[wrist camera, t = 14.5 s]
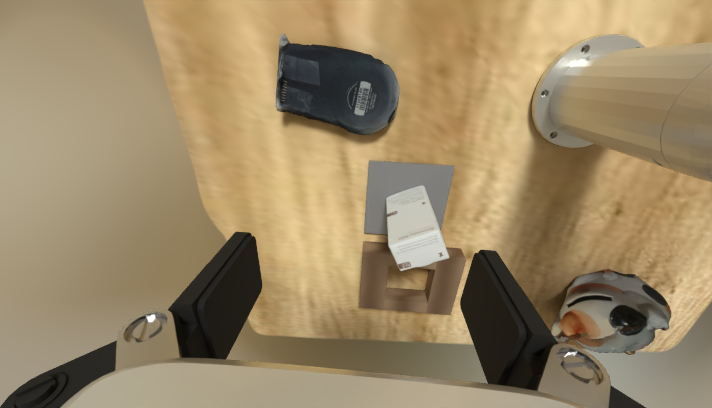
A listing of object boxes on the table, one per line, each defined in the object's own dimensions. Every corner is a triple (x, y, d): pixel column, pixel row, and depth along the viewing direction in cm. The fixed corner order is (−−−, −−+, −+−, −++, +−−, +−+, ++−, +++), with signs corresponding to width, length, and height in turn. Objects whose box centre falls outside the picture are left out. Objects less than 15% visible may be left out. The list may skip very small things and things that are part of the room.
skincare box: (423, 183, 39) (441, 226, 28) (432, 208, 41) (453, 258, 30) (383, 197, 41) (386, 244, 30) (394, 221, 42) (400, 273, 31)
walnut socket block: (460, 248, 44) (466, 260, 42) (446, 301, 50) (450, 314, 47) (363, 241, 45) (362, 252, 42) (359, 294, 50) (359, 307, 48)
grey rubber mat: (453, 165, 38) (454, 166, 38) (438, 236, 44) (438, 238, 43) (369, 160, 39) (369, 161, 38) (364, 231, 44) (364, 232, 44)
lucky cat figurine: (566, 333, 51) (576, 393, 40) (534, 277, 52) (535, 321, 40) (676, 320, 43) (729, 393, 31) (636, 253, 43) (674, 300, 32)
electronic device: (286, 115, 38) (389, 140, 37) (268, 114, 33) (386, 144, 32) (296, 42, 35) (408, 67, 34) (277, 28, 30) (408, 57, 29)
